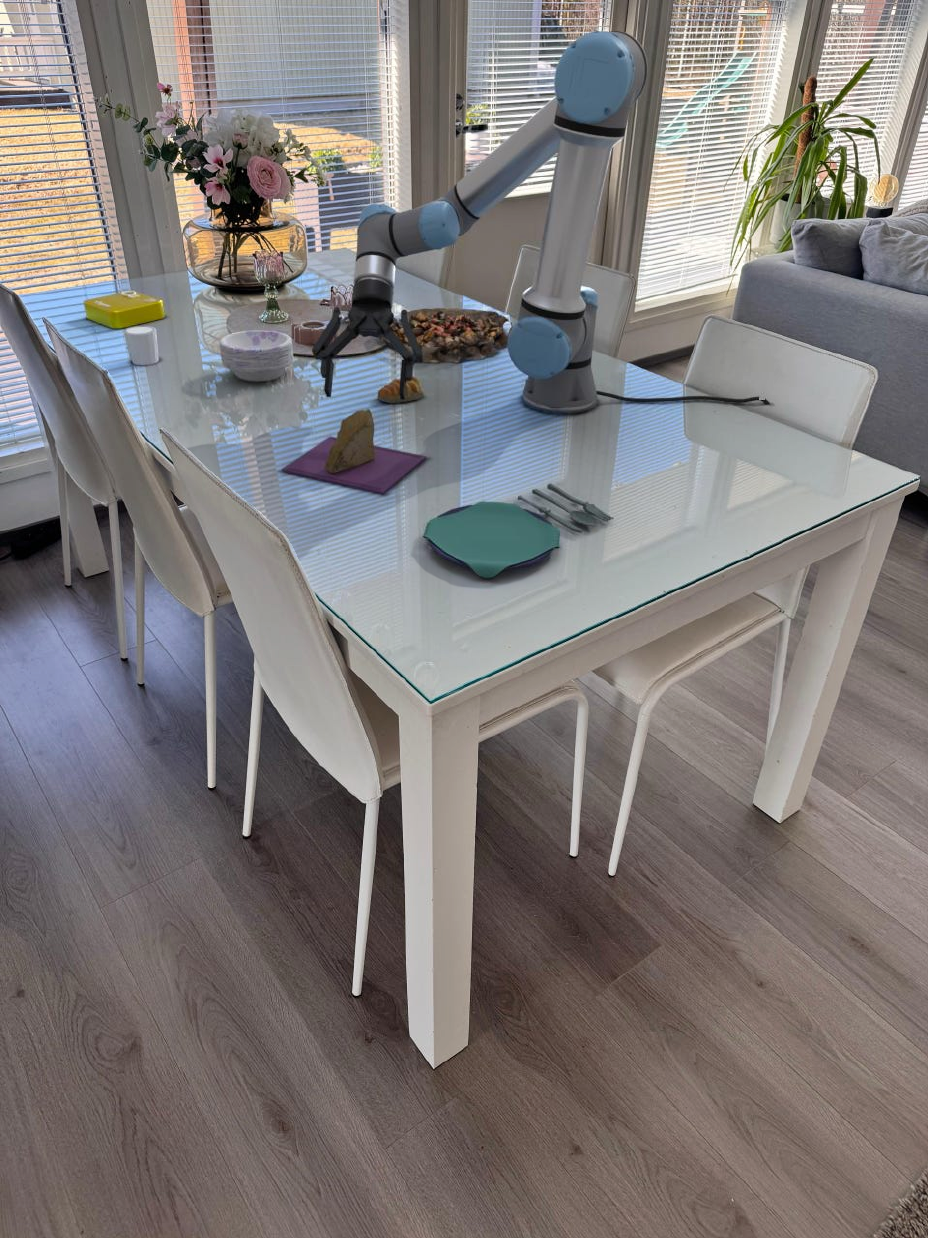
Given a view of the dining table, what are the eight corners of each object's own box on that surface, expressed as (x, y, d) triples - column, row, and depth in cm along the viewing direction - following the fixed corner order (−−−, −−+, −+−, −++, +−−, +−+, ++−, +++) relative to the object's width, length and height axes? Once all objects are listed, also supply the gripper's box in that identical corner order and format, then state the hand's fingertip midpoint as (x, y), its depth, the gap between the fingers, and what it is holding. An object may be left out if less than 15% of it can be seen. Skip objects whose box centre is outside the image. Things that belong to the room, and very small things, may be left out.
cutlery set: (400, 538, 136) (399, 524, 135) (544, 486, 151) (545, 473, 150) (482, 594, 123) (483, 580, 122) (631, 532, 139) (633, 518, 137)
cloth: (426, 458, 160) (426, 456, 160) (383, 494, 148) (383, 491, 148) (330, 438, 166) (330, 436, 166) (282, 471, 154) (281, 468, 154)
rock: (328, 469, 149) (385, 454, 151) (313, 420, 149) (370, 406, 151) (325, 482, 159) (378, 468, 161) (310, 437, 159) (364, 423, 161)
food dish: (467, 377, 198) (467, 343, 193) (349, 353, 212) (346, 320, 208) (540, 333, 222) (542, 301, 217) (430, 314, 236) (429, 283, 232)
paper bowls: (289, 361, 202) (285, 325, 198) (299, 383, 190) (296, 346, 186) (220, 366, 198) (215, 330, 194) (227, 390, 186) (222, 352, 182)
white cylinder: (123, 363, 199) (116, 331, 195) (143, 354, 204) (137, 323, 200) (148, 367, 197) (142, 335, 193) (167, 358, 202) (162, 327, 198)
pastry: (389, 407, 180) (388, 389, 178) (370, 398, 184) (369, 380, 182) (426, 397, 185) (426, 379, 183) (407, 388, 189) (406, 371, 187)
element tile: (83, 317, 227) (79, 298, 224) (135, 306, 236) (132, 287, 234) (116, 330, 219) (112, 310, 216) (168, 317, 228) (165, 298, 226)
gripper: (441, 300, 168) (434, 406, 164) (311, 296, 169) (301, 401, 165) (439, 278, 161) (431, 388, 157) (302, 274, 162) (291, 383, 158)
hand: (364, 395), depth 161 cm, fingers open, 13 cm apart
